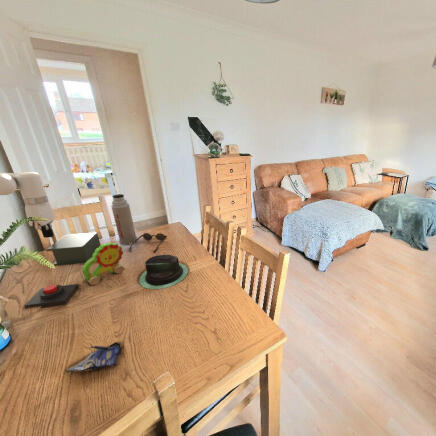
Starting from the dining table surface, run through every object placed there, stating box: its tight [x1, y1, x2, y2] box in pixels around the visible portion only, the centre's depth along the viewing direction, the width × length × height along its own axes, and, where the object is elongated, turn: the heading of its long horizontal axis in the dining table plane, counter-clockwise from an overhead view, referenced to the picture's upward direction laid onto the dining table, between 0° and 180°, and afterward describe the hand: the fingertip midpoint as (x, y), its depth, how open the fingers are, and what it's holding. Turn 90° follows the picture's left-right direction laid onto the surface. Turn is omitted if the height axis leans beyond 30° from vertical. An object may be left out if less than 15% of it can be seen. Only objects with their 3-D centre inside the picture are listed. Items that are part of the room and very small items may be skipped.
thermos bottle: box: [111, 193, 138, 246], centre depth 132 cm, size 8×8×28 cm
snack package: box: [65, 342, 122, 373], centre depth 70 cm, size 12×6×12 cm
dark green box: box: [45, 231, 102, 267], centre depth 120 cm, size 14×16×9 cm
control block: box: [23, 283, 80, 309], centre depth 93 cm, size 12×10×4 cm
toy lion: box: [82, 242, 124, 286], centre depth 105 cm, size 16×5×15 cm, turn 155°
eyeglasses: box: [129, 232, 168, 253], centre depth 133 cm, size 15×15×5 cm
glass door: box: [51, 228, 58, 244], centre depth 120 cm, size 3×7×14 cm, turn 17°
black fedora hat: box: [138, 253, 189, 290], centre depth 110 cm, size 15×19×20 cm
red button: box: [43, 284, 58, 294], centre depth 92 cm, size 4×4×2 cm
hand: (49, 236), depth 114 cm, fingers closed
